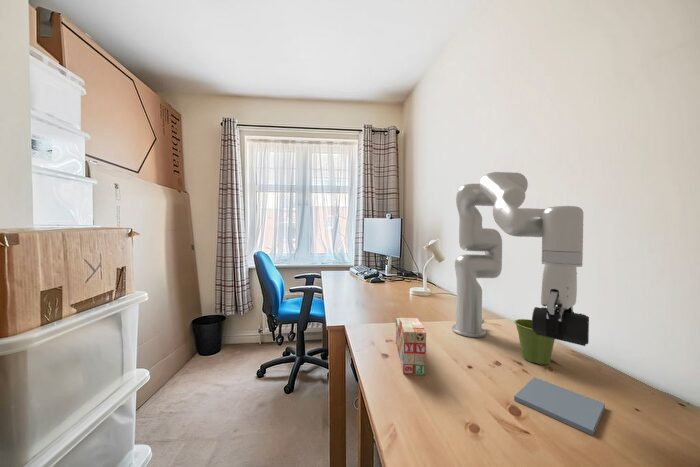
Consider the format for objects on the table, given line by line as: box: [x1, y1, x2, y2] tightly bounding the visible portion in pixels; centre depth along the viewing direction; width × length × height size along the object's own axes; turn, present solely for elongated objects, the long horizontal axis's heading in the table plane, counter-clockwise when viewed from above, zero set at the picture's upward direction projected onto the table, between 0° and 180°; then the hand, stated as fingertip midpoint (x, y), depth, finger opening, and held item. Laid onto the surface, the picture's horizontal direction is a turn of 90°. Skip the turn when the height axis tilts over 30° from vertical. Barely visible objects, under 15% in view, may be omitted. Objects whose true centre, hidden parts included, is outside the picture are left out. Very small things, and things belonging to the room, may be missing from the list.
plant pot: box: [513, 318, 556, 365], centre depth 84 cm, size 12×12×11 cm
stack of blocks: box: [395, 317, 427, 376], centre depth 84 cm, size 21×6×12 cm, turn 176°
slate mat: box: [513, 376, 606, 437], centre depth 62 cm, size 14×14×1 cm
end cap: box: [531, 306, 590, 347], centre depth 62 cm, size 10×7×7 cm
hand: (559, 333), depth 62 cm, fingers closed on end cap, 7 cm apart
